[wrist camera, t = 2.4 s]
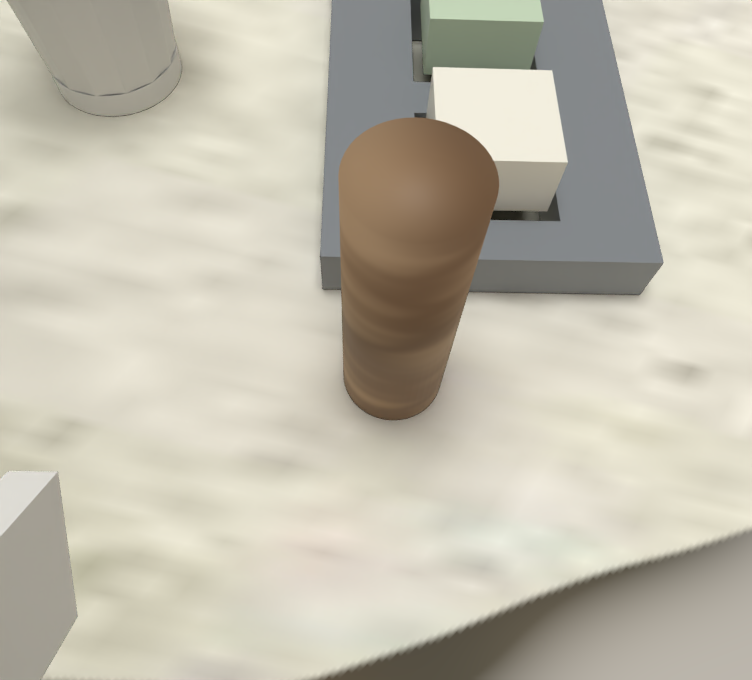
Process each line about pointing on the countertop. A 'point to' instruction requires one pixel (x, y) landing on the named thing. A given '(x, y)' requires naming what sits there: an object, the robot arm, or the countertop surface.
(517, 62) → the key mid
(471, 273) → the wooden pepper mill
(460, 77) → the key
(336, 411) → the countertop surface
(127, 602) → the countertop surface
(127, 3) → the cup
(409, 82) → the keypad
